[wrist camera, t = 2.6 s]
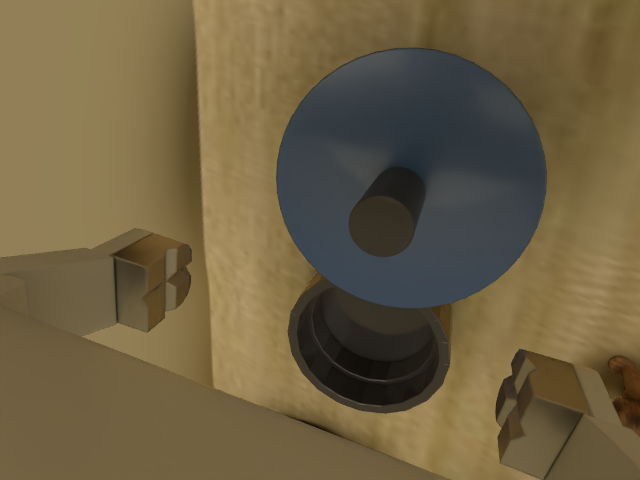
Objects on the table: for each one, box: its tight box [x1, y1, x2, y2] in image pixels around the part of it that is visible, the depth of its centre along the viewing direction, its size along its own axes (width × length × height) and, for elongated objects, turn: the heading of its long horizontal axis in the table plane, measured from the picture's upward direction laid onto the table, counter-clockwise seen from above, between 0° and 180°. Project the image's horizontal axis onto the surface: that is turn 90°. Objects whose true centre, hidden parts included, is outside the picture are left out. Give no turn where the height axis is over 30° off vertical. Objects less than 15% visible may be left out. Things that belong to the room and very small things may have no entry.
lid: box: [276, 48, 547, 308], centre depth 18 cm, size 12×12×6 cm
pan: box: [288, 272, 452, 414], centre depth 31 cm, size 11×11×5 cm
